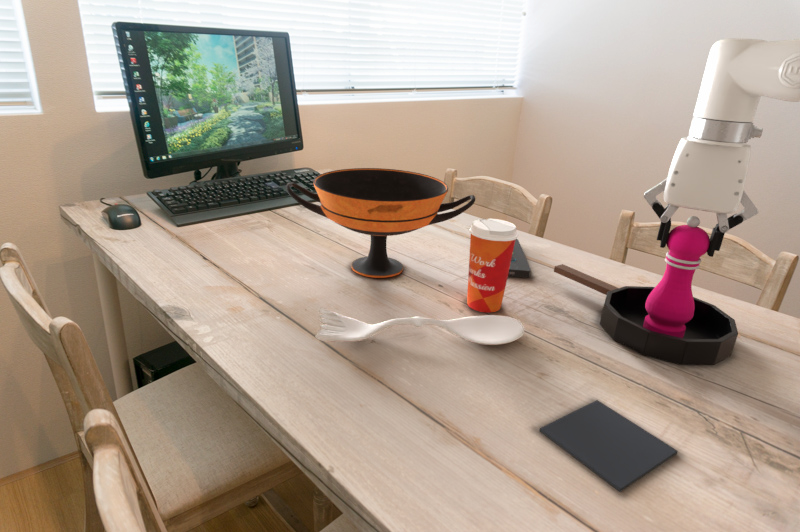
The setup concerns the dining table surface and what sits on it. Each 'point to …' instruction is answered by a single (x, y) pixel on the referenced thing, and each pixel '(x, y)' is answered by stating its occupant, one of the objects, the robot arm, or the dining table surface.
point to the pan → (624, 320)
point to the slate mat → (608, 444)
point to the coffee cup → (489, 263)
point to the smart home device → (519, 263)
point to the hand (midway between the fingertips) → (685, 248)
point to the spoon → (468, 328)
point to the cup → (380, 208)
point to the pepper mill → (677, 280)
